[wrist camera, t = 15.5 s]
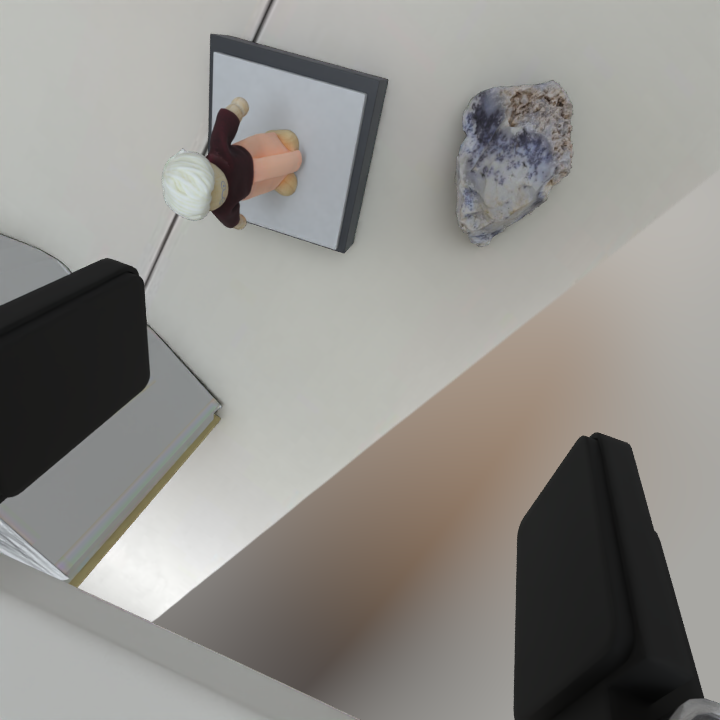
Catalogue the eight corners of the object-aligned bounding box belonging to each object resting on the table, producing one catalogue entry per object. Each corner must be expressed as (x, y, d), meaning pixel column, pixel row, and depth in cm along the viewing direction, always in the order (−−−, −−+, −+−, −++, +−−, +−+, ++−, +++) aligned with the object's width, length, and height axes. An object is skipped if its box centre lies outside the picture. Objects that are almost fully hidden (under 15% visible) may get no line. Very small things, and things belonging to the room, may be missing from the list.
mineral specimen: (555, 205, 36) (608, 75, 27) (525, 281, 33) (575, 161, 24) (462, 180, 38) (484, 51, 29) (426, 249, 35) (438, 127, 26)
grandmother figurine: (310, 210, 35) (224, 271, 24) (264, 207, 36) (162, 265, 25) (301, 92, 31) (194, 105, 20) (249, 92, 32) (120, 105, 21)
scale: (388, 79, 32) (377, 80, 29) (353, 243, 39) (341, 256, 36) (228, 35, 33) (205, 32, 30) (222, 202, 40) (202, 211, 37)
